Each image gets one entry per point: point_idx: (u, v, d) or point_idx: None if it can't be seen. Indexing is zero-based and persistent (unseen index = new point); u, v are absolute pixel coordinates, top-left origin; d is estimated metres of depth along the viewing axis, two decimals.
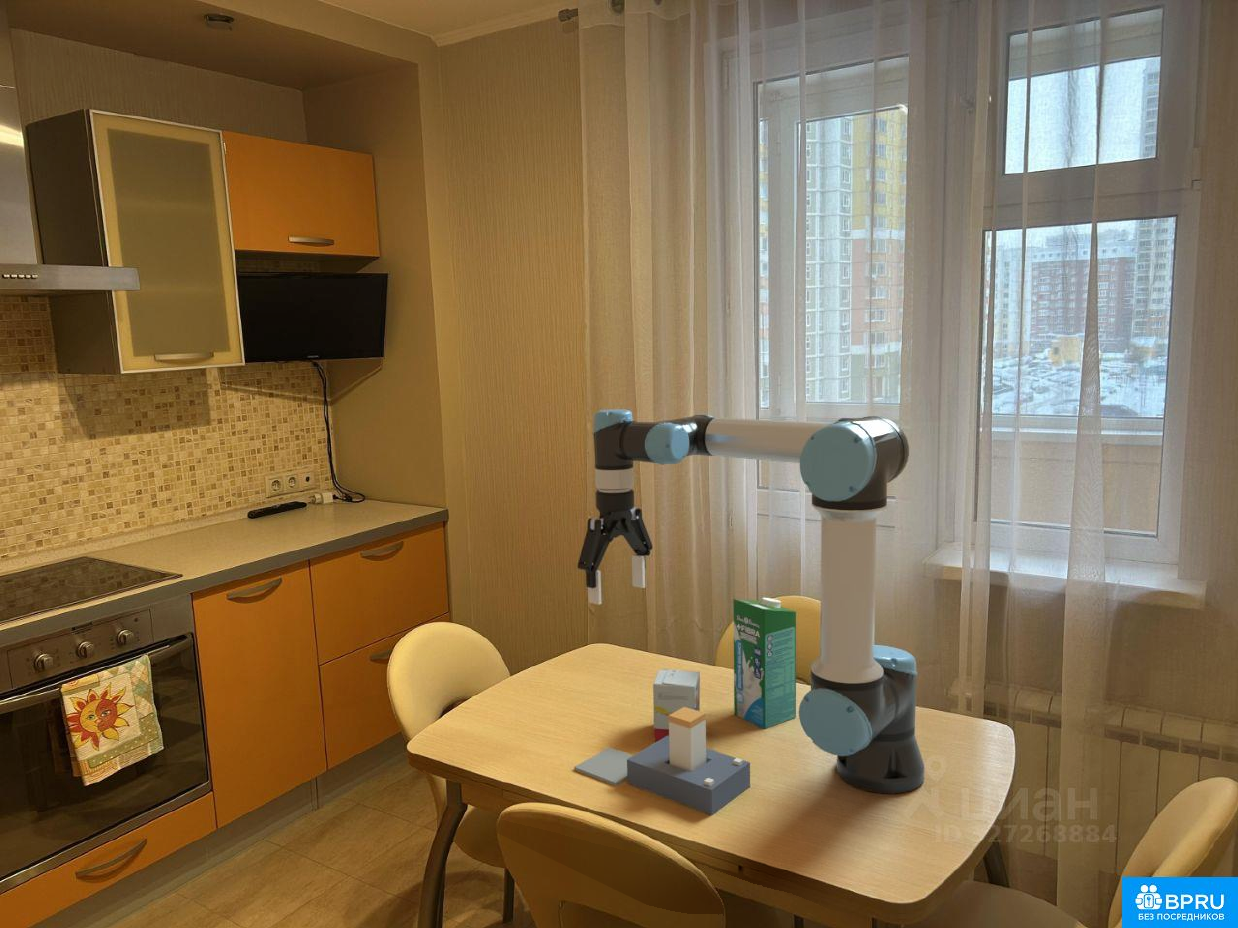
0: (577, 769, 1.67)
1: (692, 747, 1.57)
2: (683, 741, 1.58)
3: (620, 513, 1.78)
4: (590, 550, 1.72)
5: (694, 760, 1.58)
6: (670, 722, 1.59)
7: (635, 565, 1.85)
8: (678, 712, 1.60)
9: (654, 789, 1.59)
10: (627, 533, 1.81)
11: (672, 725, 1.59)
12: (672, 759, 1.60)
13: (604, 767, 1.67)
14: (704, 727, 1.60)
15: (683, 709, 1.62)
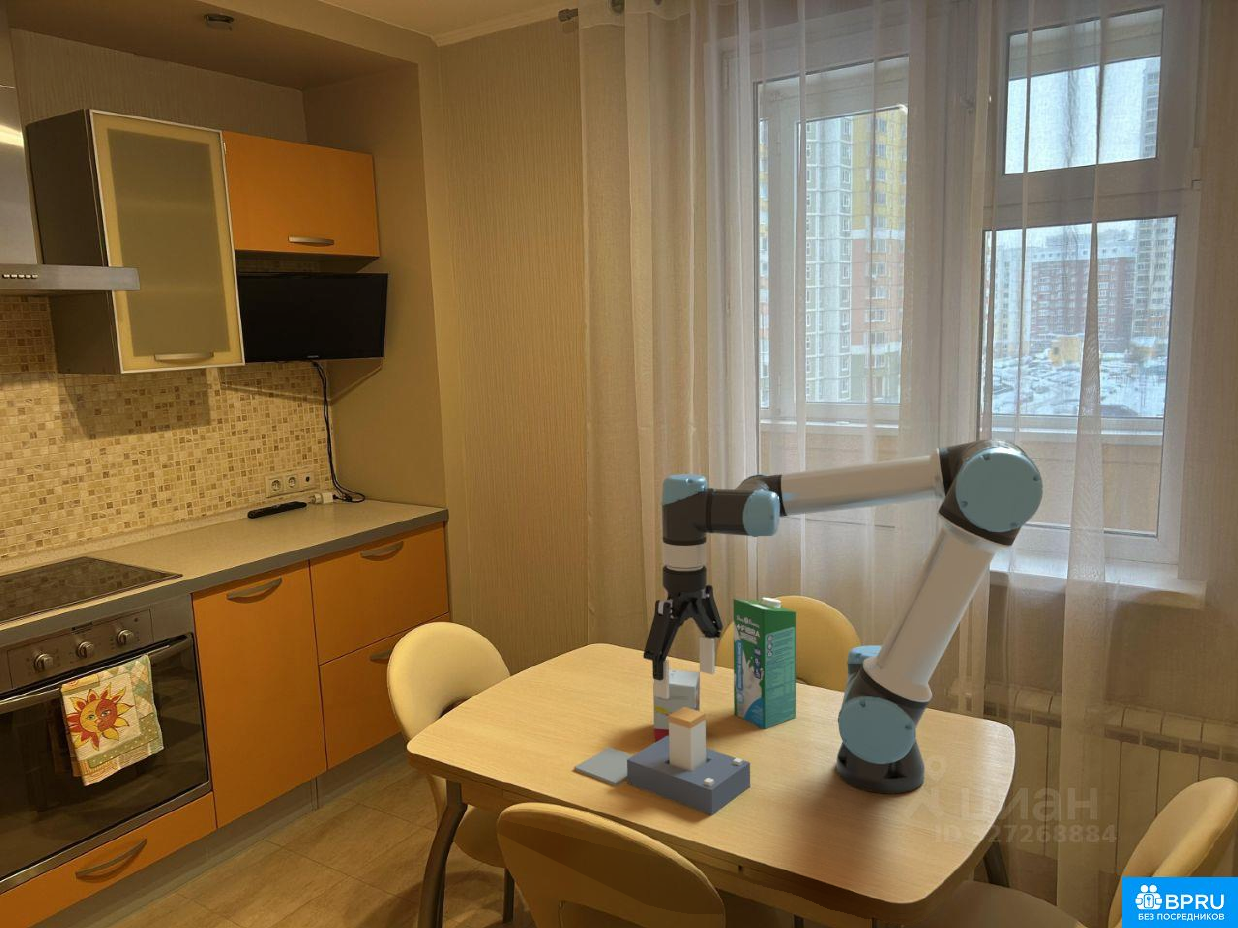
0: (577, 769, 1.67)
1: (692, 747, 1.57)
2: (683, 741, 1.58)
3: (690, 593, 1.56)
4: (658, 638, 1.50)
5: (694, 760, 1.58)
6: (670, 722, 1.59)
7: (703, 648, 1.63)
8: (678, 712, 1.60)
9: (654, 789, 1.59)
10: (697, 614, 1.59)
11: (672, 725, 1.59)
12: (672, 759, 1.60)
13: (604, 767, 1.67)
14: (704, 727, 1.60)
15: (683, 709, 1.62)
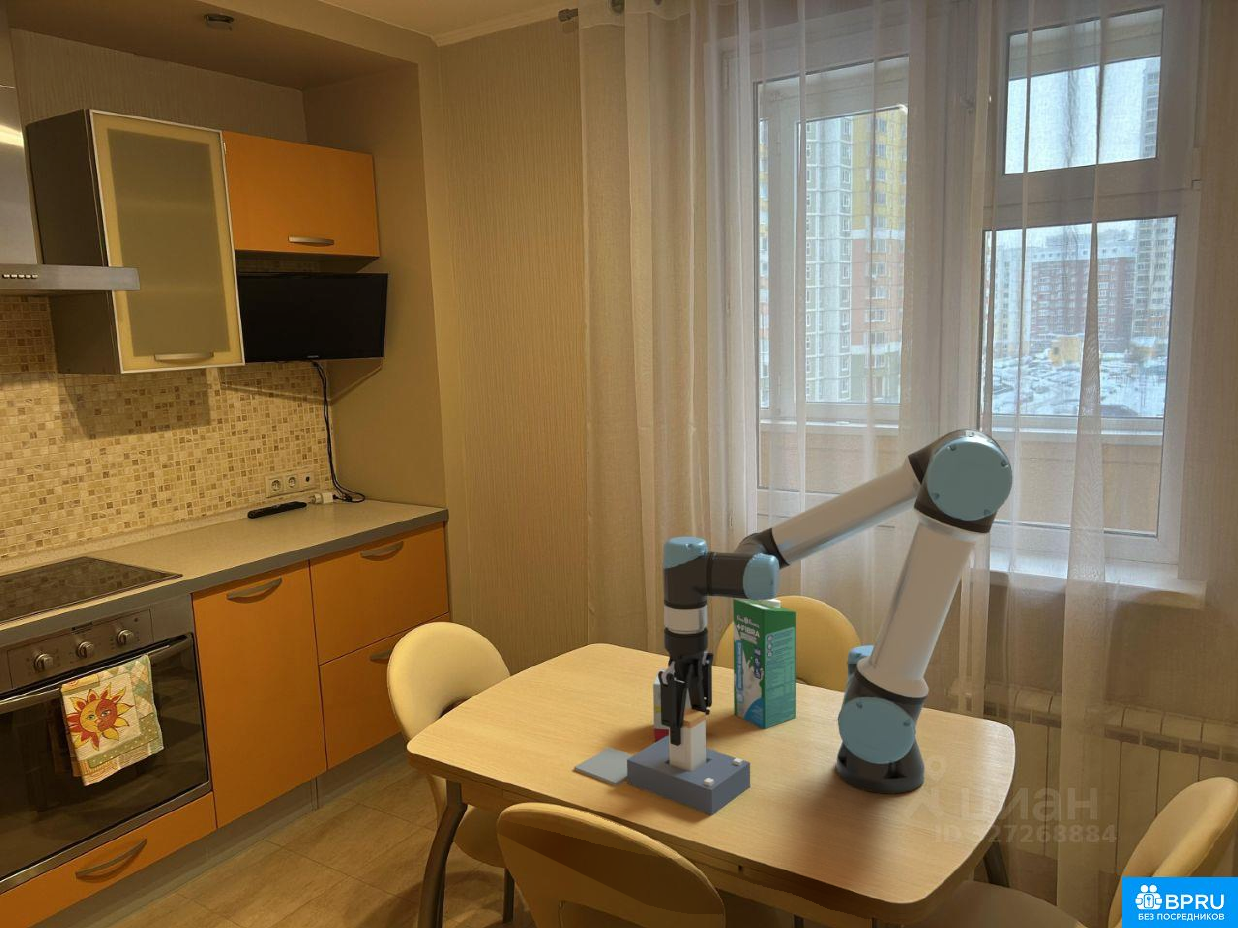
0: (577, 769, 1.67)
1: (692, 747, 1.57)
2: None
3: None
4: (670, 708, 1.54)
5: (694, 760, 1.58)
6: None
7: None
8: None
9: (654, 789, 1.59)
10: (693, 679, 1.59)
11: None
12: (672, 759, 1.60)
13: (604, 767, 1.67)
14: (704, 727, 1.60)
15: None
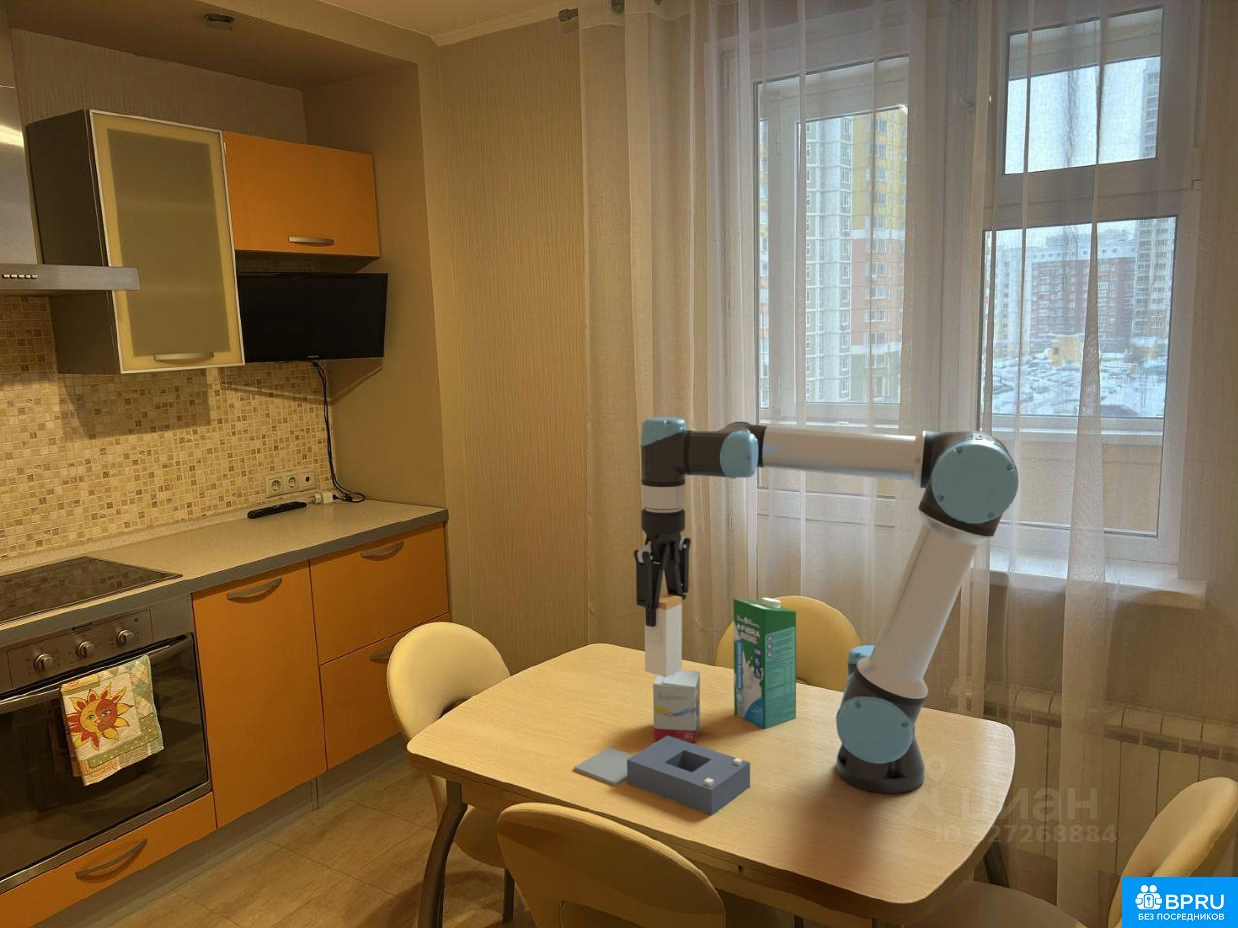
0: (577, 769, 1.67)
1: (668, 629, 1.56)
2: None
3: (669, 535, 1.56)
4: (646, 587, 1.53)
5: (669, 643, 1.57)
6: None
7: None
8: None
9: (654, 789, 1.59)
10: (670, 563, 1.58)
11: None
12: (647, 643, 1.59)
13: (604, 767, 1.67)
14: (680, 612, 1.59)
15: None
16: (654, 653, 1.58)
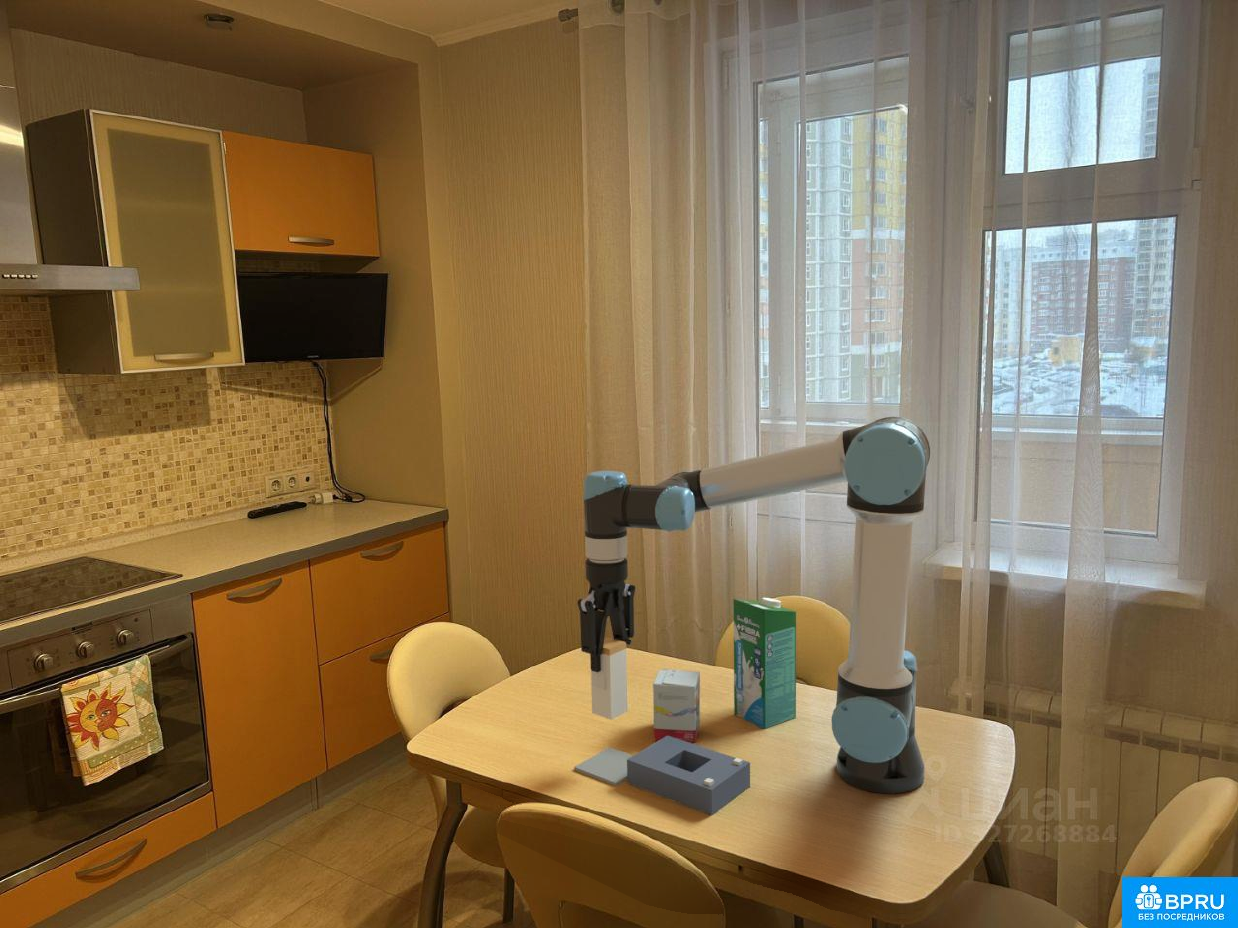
0: (577, 769, 1.67)
1: (612, 674, 1.63)
2: None
3: (612, 584, 1.63)
4: (589, 634, 1.60)
5: (614, 686, 1.64)
6: None
7: None
8: None
9: (654, 789, 1.59)
10: (614, 610, 1.65)
11: None
12: (593, 686, 1.66)
13: (604, 767, 1.67)
14: (625, 656, 1.66)
15: (605, 639, 1.67)
16: (600, 696, 1.65)
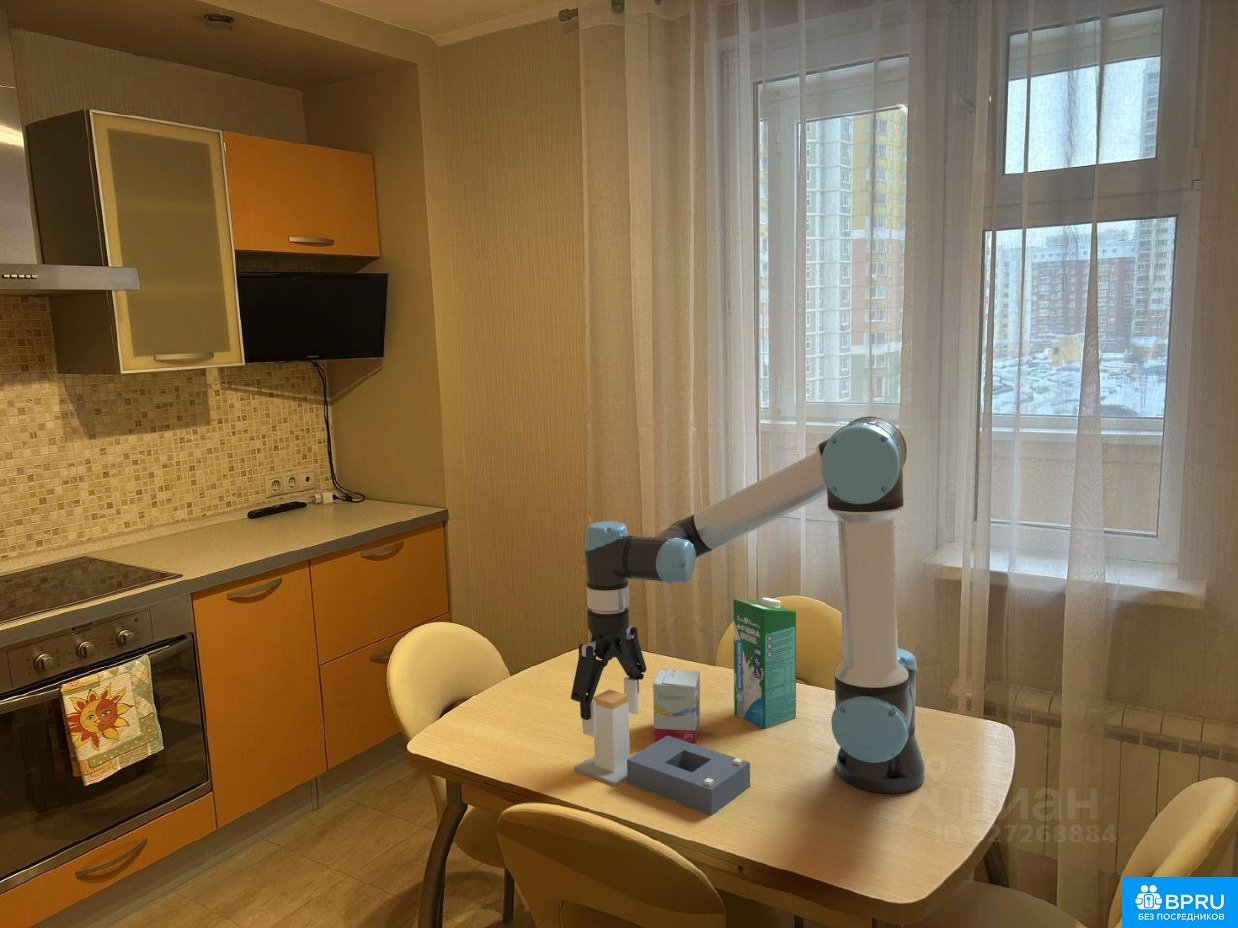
0: (577, 769, 1.67)
1: (615, 727, 1.65)
2: (606, 722, 1.65)
3: (614, 634, 1.64)
4: (583, 680, 1.59)
5: (617, 740, 1.65)
6: None
7: (627, 690, 1.71)
8: (603, 694, 1.67)
9: (654, 789, 1.59)
10: (620, 655, 1.67)
11: (596, 707, 1.66)
12: (596, 739, 1.67)
13: None
14: (627, 709, 1.67)
15: (607, 691, 1.69)
16: (603, 749, 1.66)
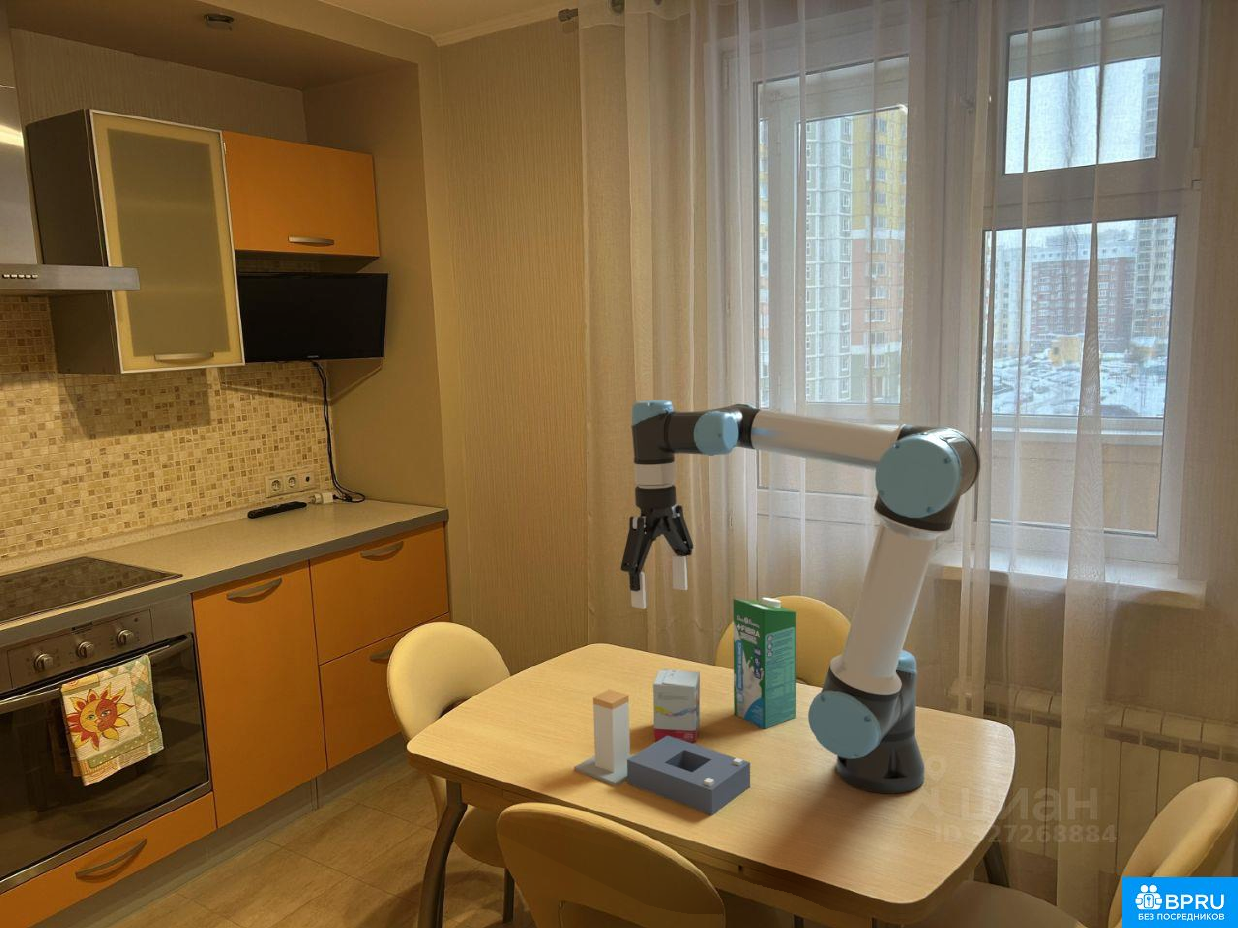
0: (577, 769, 1.67)
1: (615, 727, 1.65)
2: (606, 722, 1.65)
3: (662, 510, 1.67)
4: (634, 550, 1.61)
5: (617, 740, 1.65)
6: (594, 704, 1.66)
7: (676, 566, 1.74)
8: (603, 694, 1.67)
9: (654, 789, 1.59)
10: (668, 532, 1.70)
11: (596, 707, 1.66)
12: (596, 739, 1.67)
13: None
14: (627, 709, 1.67)
15: (607, 691, 1.69)
16: (603, 749, 1.66)
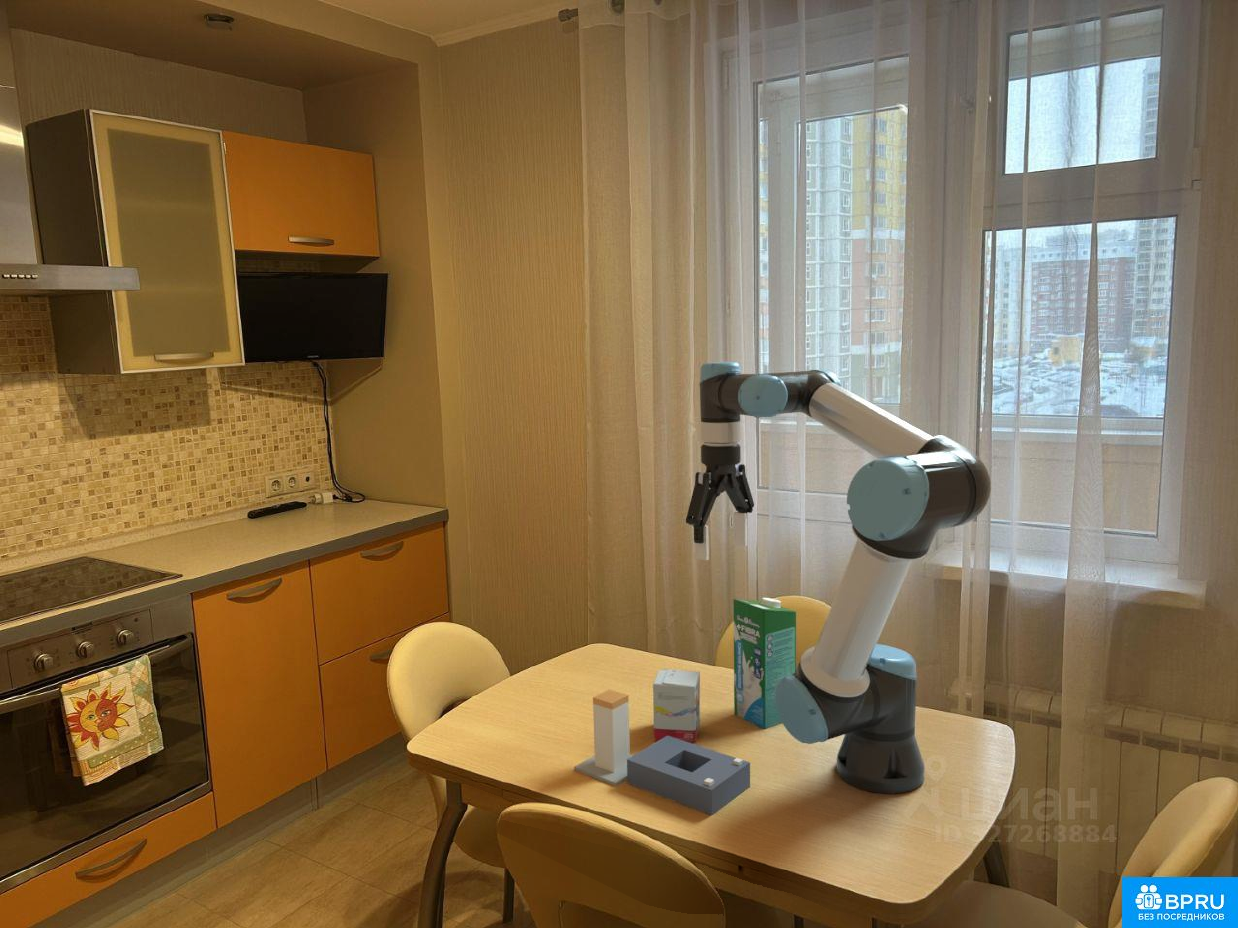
0: (577, 769, 1.67)
1: (615, 727, 1.65)
2: (606, 722, 1.65)
3: (726, 468, 1.74)
4: (699, 504, 1.68)
5: (617, 740, 1.65)
6: (594, 704, 1.66)
7: (737, 523, 1.82)
8: (603, 694, 1.67)
9: (654, 789, 1.59)
10: (731, 489, 1.78)
11: (596, 707, 1.66)
12: (596, 739, 1.67)
13: None
14: (627, 709, 1.67)
15: (607, 691, 1.69)
16: (603, 749, 1.66)
